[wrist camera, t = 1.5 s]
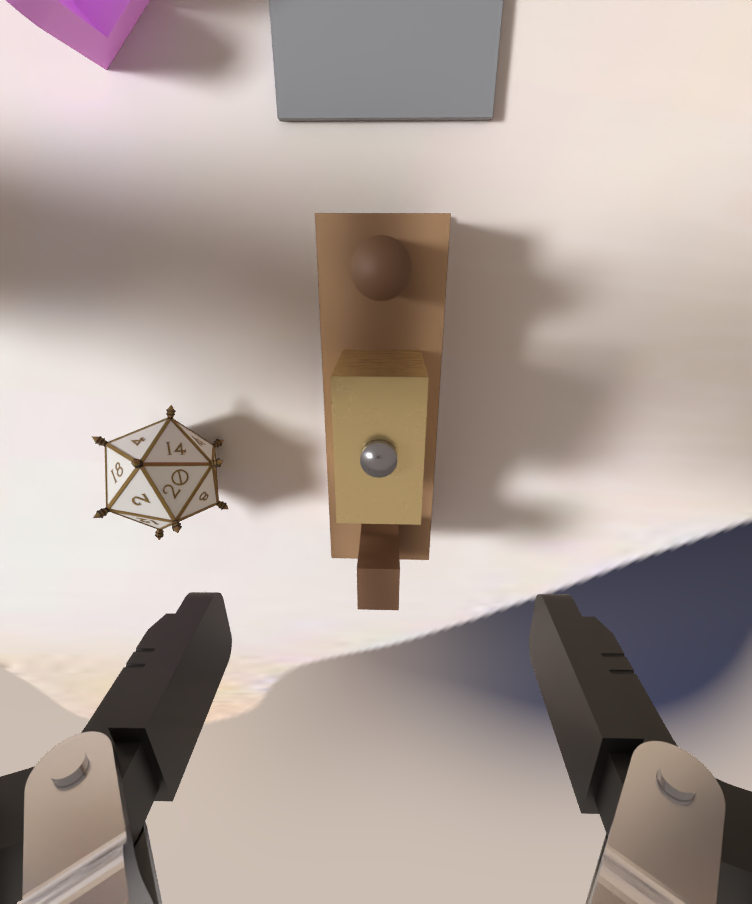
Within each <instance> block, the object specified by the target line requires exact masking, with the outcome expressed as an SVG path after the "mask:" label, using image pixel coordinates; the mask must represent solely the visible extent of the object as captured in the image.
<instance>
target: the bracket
mask: <svg viewBox="0 0 752 904" xmlns="http://www.w3.org/2000/svg"><path fill="white" fill-rule="evenodd" d="M6 1H7V2H8V3H10V4H11V5H12V6H13V7H14V8H15V9H17V10H18V11H19V12H20V13H21V14H23V15H24V16H25V17H26V18H28V19H29V20H30V21H31V22H33V23H34V24H35V25H37V26H38V27H40V28H41V29H43V30H44V31H46V32H47V33H49V34H51V35H52V36H54V37H55V38H57V39H58V40H60V41H62V42H63V43H65V44H66V45H68V46H69V47H71V48H73V49H74V50H76V51H77V52H79V53H81V54H82V55H84V56H85V57H87V58H88V59H90V60H92V61H93V62H95V63H96V64H98V65H100V66H101V67H103V68H104V69H106V70H107V69H108V67H109V66H110V64H111V62H112V61H113V59H114V58H115V56H116V54H117V53H118V51H119V50H120V48H121V46H122V45H123V43H124V42H125V40H126V38H127V37H128V35H129V33H130V32H131V30H132V29H133V27H134V25H135V24H136V22H137V21H138V19H139V17H140V16H141V14H142V13H143V11H144V9H145V8H146V6H147V5H148V3H149V1H150V0H6Z"/></svg>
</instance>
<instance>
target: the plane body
mask: <svg viewBox="0 0 752 904" xmlns="http://www.w3.org/2000/svg"><path fill="white" fill-rule="evenodd" d="M450 217H451V213H315V225H316V245H317V266H318V287H319V308H320V328H321V349H322V370H323V390H324V411H325V432H326V453H327V473H328V494H329V515H330V536H331V556H332V558H358V563H357V595H358V609H369V610H399V577H400V562H399V559H411V560H429V547H430V531H431V515H432V500H433V484H434V468H435V453H436V437H437V421H438V406H439V390H440V374H441V358H442V343H443V327H444V311H445V296H446V280H447V264H448V249H449V233H450ZM342 350H420V351H421V354H422V357H423V360H424V364H425V367H426V370H427V374H428V377H429V380H428V399H427V418H426V437H425V456H424V475H423V494H422V513H421V525H412V524H355V523H336V499H335V474H334V450H333V426H332V401H331V377H330V376H331V374H332V372H333V370H334V368H335V366H336V363H337V361H338V359H339V357H340V355H341V353H342Z"/></svg>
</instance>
